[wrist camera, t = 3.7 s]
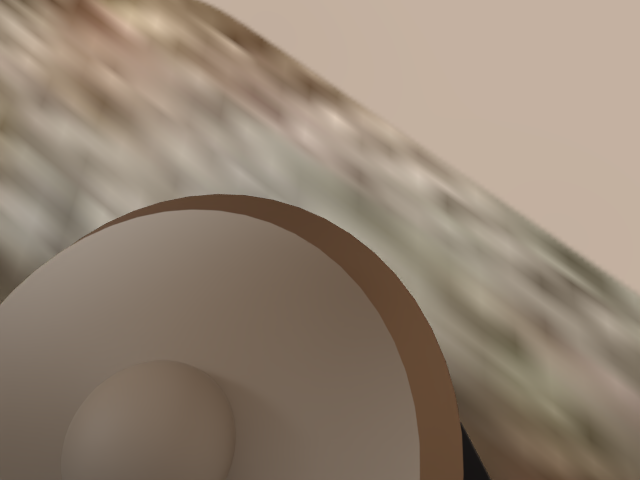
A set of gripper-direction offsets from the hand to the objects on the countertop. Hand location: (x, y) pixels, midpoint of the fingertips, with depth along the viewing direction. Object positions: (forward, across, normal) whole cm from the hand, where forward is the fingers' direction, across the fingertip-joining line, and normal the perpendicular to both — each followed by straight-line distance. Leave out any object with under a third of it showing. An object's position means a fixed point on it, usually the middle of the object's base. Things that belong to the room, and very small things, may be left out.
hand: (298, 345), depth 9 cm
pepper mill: (+4, 0, +6) cm, 7 cm away
